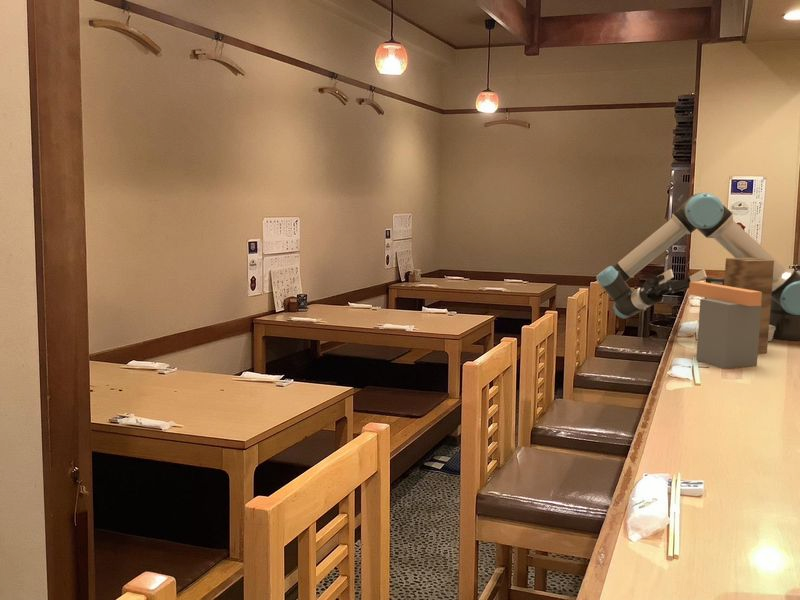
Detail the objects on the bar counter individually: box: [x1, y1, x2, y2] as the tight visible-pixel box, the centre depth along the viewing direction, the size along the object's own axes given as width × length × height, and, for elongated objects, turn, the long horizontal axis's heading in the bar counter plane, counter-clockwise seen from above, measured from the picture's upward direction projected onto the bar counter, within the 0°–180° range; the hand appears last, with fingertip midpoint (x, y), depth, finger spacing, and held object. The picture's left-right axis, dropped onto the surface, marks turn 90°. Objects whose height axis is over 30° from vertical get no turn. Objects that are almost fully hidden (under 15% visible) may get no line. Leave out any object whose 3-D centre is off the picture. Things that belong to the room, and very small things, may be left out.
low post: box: [695, 298, 762, 370], centre depth 232 cm, size 12×12×19 cm
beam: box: [688, 280, 762, 306], centre depth 234 cm, size 26×4×4 cm, turn 19°
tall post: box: [724, 257, 774, 355], centre depth 249 cm, size 10×10×30 cm
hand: (688, 273), depth 251 cm, fingers open, 13 cm apart
